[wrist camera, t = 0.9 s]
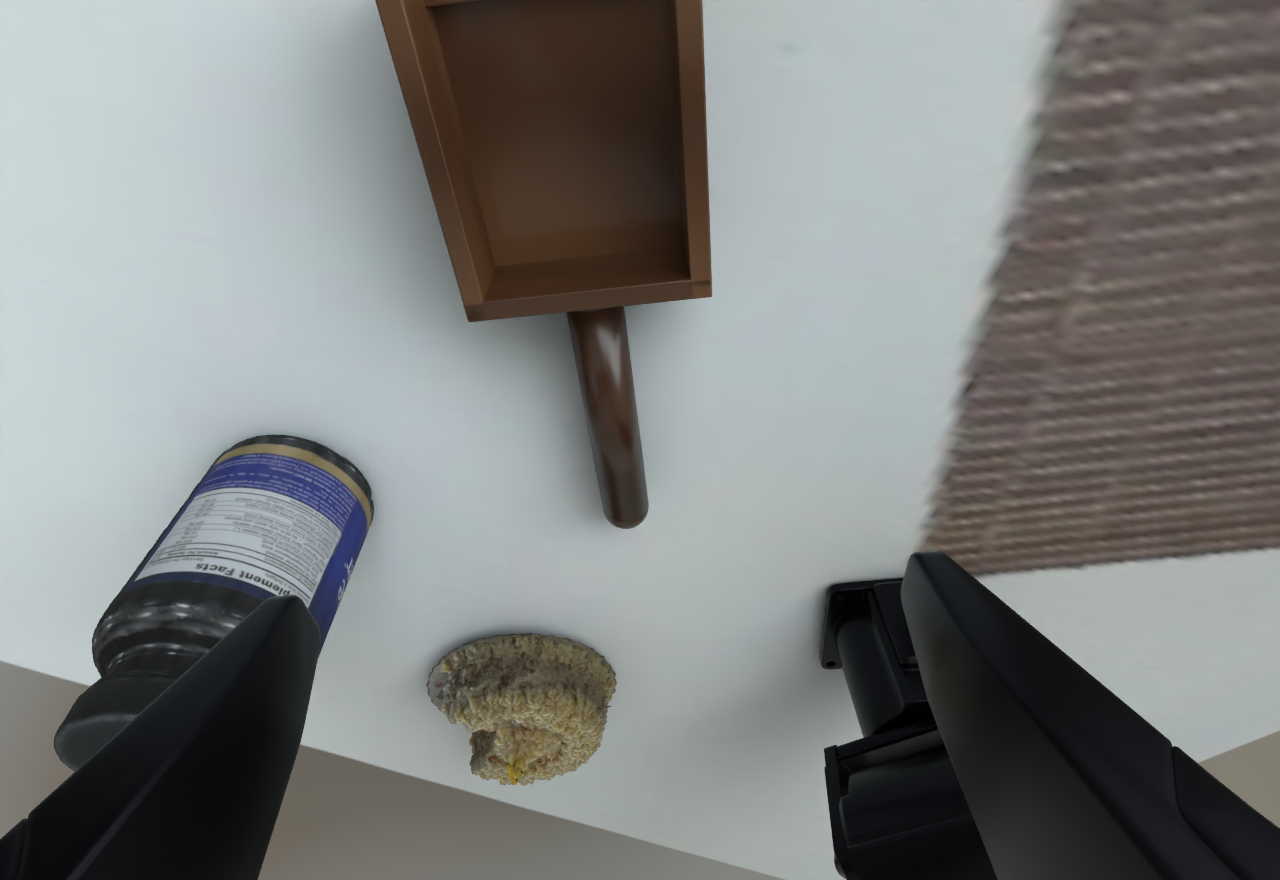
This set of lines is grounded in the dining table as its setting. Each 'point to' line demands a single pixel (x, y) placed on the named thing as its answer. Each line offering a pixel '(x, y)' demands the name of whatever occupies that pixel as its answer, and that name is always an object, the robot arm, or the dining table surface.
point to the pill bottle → (223, 574)
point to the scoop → (566, 177)
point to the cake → (525, 703)
